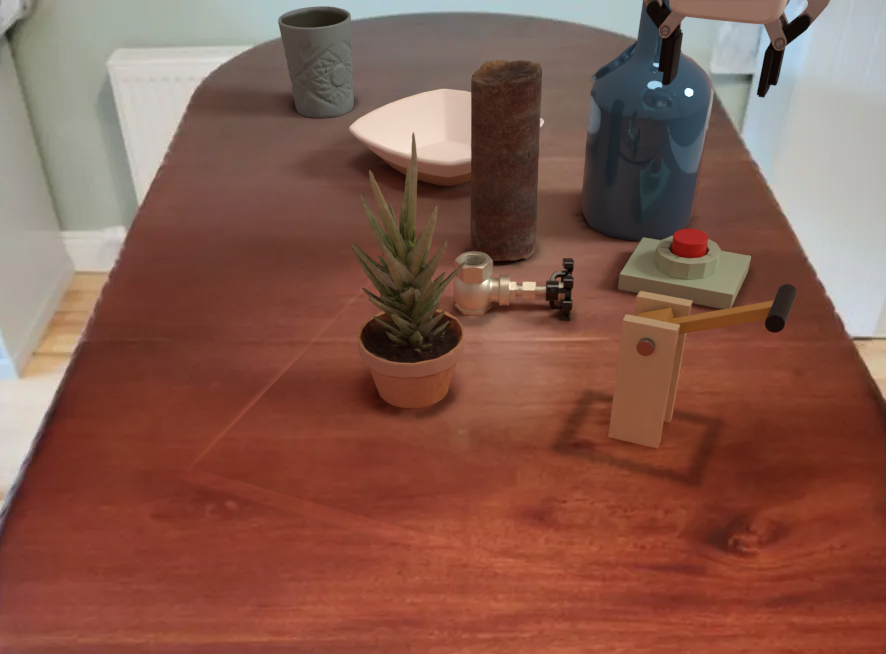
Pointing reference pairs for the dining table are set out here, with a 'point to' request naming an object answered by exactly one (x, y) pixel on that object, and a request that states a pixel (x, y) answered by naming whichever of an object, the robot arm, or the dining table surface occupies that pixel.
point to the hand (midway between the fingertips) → (715, 85)
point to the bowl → (423, 135)
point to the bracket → (647, 371)
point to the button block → (685, 273)
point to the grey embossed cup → (319, 60)
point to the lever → (734, 314)
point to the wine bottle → (645, 141)
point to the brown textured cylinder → (505, 158)
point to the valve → (506, 286)
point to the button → (689, 243)
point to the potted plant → (407, 306)
